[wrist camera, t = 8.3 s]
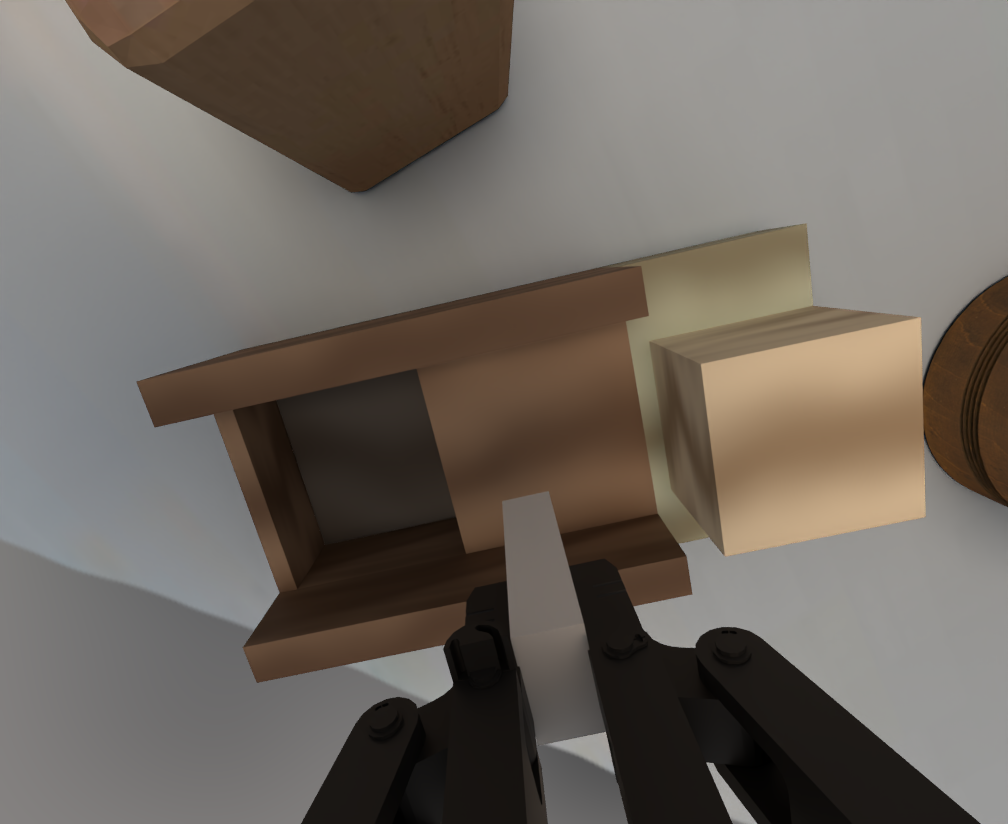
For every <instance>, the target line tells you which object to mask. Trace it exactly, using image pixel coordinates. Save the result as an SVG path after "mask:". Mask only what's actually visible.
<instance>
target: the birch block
mask: <svg viewBox="0 0 1008 824" xmlns="http://www.w3.org/2000/svg"><path fill="white" fill-rule="evenodd" d="M649 344H650V351H651V358H652V364H653V371H654V378H655V385H656V391H657V398H658V405H659V412H660V418H661V425H662V432H663V439H664V445H665V452H666V459H667V466H668V472H669V479H670V486H671V490H672V491H673V493H674V494H675V495H676V496H677V498H678V499H679V500H680V501H681V503H682V504H683V505H684V506H685V508H686V509H687V510H688V511H689V513H690V514H691V515H692V516H693V517H694V519H695V520H696V521H697V522H698V524H699V525H700V526H701V527H702V529H703V530H704V531H705V532H706V534H707V535H708V536H709V537H710V539H711V540H712V541H713V542H714V544H715V545H716V546H717V547H718V549H719V550H720V551H721V552H722V554H723V555H724V556H725V557H726V556H731V555H736V554H741V553H746V552H751V551H756V550H761V549H766V548H771V547H776V546H781V545H787V544H792V543H797V542H802V541H807V540H812V539H817V538H822V537H827V536H832V535H837V534H842V533H847V532H852V531H857V530H862V529H867V528H873V527H878V526H883V525H888V524H893V523H898V522H903V521H908V520H913V519H918V518H923V517H926V516H925V473H924V429H923V386H922V343H921V317H912V316H903V315H893V314H884V313H874V312H865V311H856V310H846V309H837V308H827V307H818V306H809V307H805V308H800V309H795V310H791V311H786V312H781V313H777V314H772V315H767V316H763V317H758V318H753V319H749V320H744V321H739V322H735V323H730V324H725V325H721V326H716V327H711V328H707V329H702V330H697V331H693V332H688V333H683V334H679V335H674V336H669V337H665V338H660V339H655V340H651V341H649Z"/></svg>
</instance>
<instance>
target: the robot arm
mask: <svg viewBox="0 0 1008 824" xmlns="http://www.w3.org/2000/svg"><path fill="white" fill-rule="evenodd" d="M502 506H503V523H504V540H505V557H506V573H507V581H503V582H498V583H494V584H489V585H484V586H480V587H475V588H474V590H473V591H472V593H471V594H470V596H469V598H468V599H467V601H466V617H465V626H463V627H461V628H460V629H458V630H456V631H455V632H454V633H453V634H452V635H451V636H450V637H449V638H448V639H447V641H446V643H445V646H444V649H443V650H444V653H445V656H446V660H447V663H448V666H449V670H450V673H451V676H452V680H453V687H452V688H451V689H450V690H449V691H448V692H446V693H445V694H444V695H443V696H441V697H439V698H438V699H436V700H434V701H432V702H430V703H428V704H426V705H424V706H422V707H420V708H417V706H416V704H415V703H414V702H412V701H411V700H410V699H407V698H401V697H396V698H390V699H386V700H384V701H382V702H379V703H377V704H375V705H373V706H372V707H371V708H370V709H368V710H367V711H366V712H365V713H363V715H362V716H361V717H360V719H359V720H358V721H357V723H356V724H355V726H354V728H353V729H352V731H351V733H350V735H349V737H348V739H347V740H346V742H345V744H344V746H343V748H342V750H341V752H340V753H339V755H338V757H337V759H336V761H335V762H334V764H333V766H332V768H331V770H330V772H329V774H328V775H327V777H326V779H325V781H324V783H323V785H322V786H321V788H320V790H319V792H318V794H317V796H316V797H315V799H314V801H313V803H312V805H311V807H310V808H309V810H308V812H307V814H306V816H305V818H304V819H303V821H302V823H301V824H548V822H547V812H546V803H545V795H544V785H543V777H542V768H541V764H540V760H539V756H538V752H537V748H536V740H537V744H538V745H543V744H548V743H553V742H558V741H563V740H568V739H572V738H577V737H582V736H587V735H592V734H597V733H602V732H606V734H607V738H608V743H609V748H610V752H611V757H612V762H613V766H614V771H615V775H616V780H617V783H618V785H619V788H620V793H621V796H622V801H623V805H624V809H625V813H626V817H627V821H628V824H732V821H731V819H730V817H729V814H728V812H727V810H726V807H725V805H724V803H723V801H722V798H721V796H720V794H719V791H718V789H717V787H716V784H715V782H714V780H713V777H712V775H711V773H710V771H709V768H708V766H707V764H706V762H709V763H714V765H715V767H716V769H717V771H718V772H719V774H720V775H721V776H722V778H723V779H724V780H725V782H726V783H727V784H728V785H729V787H730V788H731V789H732V791H733V792H734V793H735V795H736V796H737V797H738V799H739V800H740V801H741V803H742V804H743V805H744V806H745V808H746V809H747V810H748V812H749V813H750V814H751V816H752V817H753V818H754V820H755V821H756V822H757V824H980V823H979V822H978V821H977V820H976V819H975V818H973V817H972V816H971V815H970V814H969V813H967V812H966V811H965V810H964V809H963V808H962V807H960V806H959V805H958V804H957V803H956V802H954V801H953V800H952V799H951V798H950V797H949V796H947V795H946V794H945V793H944V792H943V791H941V790H940V789H939V788H938V787H937V786H935V785H934V784H933V783H932V782H931V781H930V780H928V779H927V778H926V777H925V776H924V775H922V774H921V773H920V772H919V771H918V770H917V769H915V768H914V767H913V766H912V765H911V764H909V763H908V762H907V761H906V760H905V759H904V758H902V757H901V756H900V755H899V754H898V753H896V752H895V751H894V750H893V749H892V748H891V747H889V746H888V745H887V744H886V743H885V742H883V741H882V740H881V739H880V738H879V737H878V736H876V735H875V734H874V733H873V732H872V731H870V730H869V729H868V728H867V727H866V726H865V725H863V724H862V723H861V722H860V721H859V720H857V719H856V718H855V717H854V716H853V715H852V714H850V713H849V712H848V711H847V710H846V709H844V708H843V707H842V706H841V705H840V704H839V703H837V702H836V701H835V700H834V699H833V698H831V697H830V696H829V695H828V694H827V693H826V692H824V691H823V690H822V689H821V688H820V687H818V686H817V685H816V684H815V683H814V682H813V681H811V680H810V679H809V678H808V677H807V676H805V675H804V674H803V673H802V672H801V671H800V670H798V669H797V668H796V667H795V666H794V665H792V664H791V663H790V662H789V661H788V660H787V659H785V658H784V657H783V656H782V655H781V654H779V653H778V652H777V651H776V650H775V649H773V648H772V647H771V646H770V645H769V644H768V643H766V642H765V641H764V640H763V639H762V638H760V637H759V636H757V635H755V634H754V633H752V632H750V631H747V630H744V629H740V628H736V627H721V628H717V629H713V630H710V631H708V632H706V633H705V634H703V635H702V636H700V638H699V640H698V641H697V643H696V648H679V647H671V646H667V645H664V644H660V643H658V642H657V641H655V640H653V639H652V638H651V637H650V636H649V635H648V633H647V632H645V631H644V630H643V628H642V626H641V624H640V621H639V619H638V617H637V614H636V612H635V609H634V607H633V605H632V602H631V600H630V598H629V595H628V593H627V592H626V588H625V586H624V584H623V582H622V579H621V577H620V574H619V572H618V569H617V567H615V566H614V565H613V564H611V563H610V562H609V561H607V560H606V559H605V558H604V559H599V560H595V561H590V562H585V563H581V564H576V565H571V566H568V562H567V558H566V554H565V551H564V547H563V543H562V539H561V536H560V532H559V528H558V524H557V521H556V517H555V513H554V509H553V506H552V502H551V498H550V495H549V491H546V492H542V493H537V494H533V495H528V496H524V497H519V498H514V499H510V500H505V501H502ZM535 736H536V737H535Z"/></svg>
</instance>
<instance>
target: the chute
mask: <svg viewBox="0 0 1008 824" xmlns="http://www.w3.org/2000/svg"><path fill="white" fill-rule="evenodd" d="M809 306H813V299H812V287H811V274H810V262H809V249H808V237H807V225H806V224H800V225H794V226H787V227H781V228H775V229H768V230H762V231H756V232H752V233H747V234H743V235H739V236H734V237H730V238H726V239H721V240H717V241H712V242H708V243H704V244H699V245H695V246H691V247H686V248H682V249H678V250H673V251H669V252H665V253H660V254H656V255H652V256H647V257H643V258H639V259H634V260H630V261H626V262H621V263H617V264H613V265H608V266H604V267H599V268H595V269H591V270H586V271H582V272H578V273H573V274H569V275H565V276H560V277H556V278H552V279H547V280H543V281H539V282H534V283H530V284H526V285H521V286H517V287H513V288H508V289H504V290H499V291H495V292H491V293H486V294H482V295H478V296H473V297H469V298H465V299H460V300H456V301H452V302H447V303H443V304H439V305H434V306H430V307H426V308H421V309H417V310H413V311H408V312H404V313H399V314H395V315H391V316H386V317H382V318H378V319H373V320H369V321H365V322H360V323H356V324H352V325H347V326H343V327H339V328H334V329H330V330H326V331H321V332H317V333H313V334H308V335H304V336H299V337H295V338H291V339H286V340H282V341H278V342H273V343H269V344H265V345H260V346H256V347H252V348H247V349H243V350H239V351H236V352H233V353H229V354H226V355H223V356H219V357H216V358H213V359H210V360H206V361H203V362H200V363H196V364H193V365H190V366H187V367H183V368H180V369H177V370H173V371H170V372H167V373H163V374H160V375H157V376H154V377H150V378H147V379H144V380H140V381H137V384H138V387H139V389H140V392H141V394H142V397H143V399H144V402H145V404H146V407H147V409H148V412H149V414H150V417H151V419H152V422H153V424H154V427H159V426H163V425H168V424H172V423H177V422H181V421H185V420H190V419H194V418H199V417H203V416H208V415H212V414H214V416H215V419H216V422H217V425H218V427H219V430H220V433H221V435H222V438H223V441H224V444H225V446H226V449H227V452H228V454H229V457H230V460H231V462H232V465H233V468H234V471H235V473H236V476H237V479H238V481H239V484H240V487H241V490H242V492H243V495H244V498H245V500H246V503H247V506H248V508H249V511H250V514H251V517H252V519H253V522H254V525H255V527H256V530H257V533H258V536H259V538H260V541H261V544H262V546H263V549H264V552H265V554H266V557H267V560H268V563H269V565H270V568H271V571H272V573H273V576H274V579H275V582H276V584H277V587H278V590H279V592H280V593H279V595H278V596H277V598H276V599H275V601H274V602H273V604H272V605H271V607H270V608H269V610H268V611H267V613H266V614H265V616H264V617H263V618H262V620H261V621H260V623H259V624H258V626H257V627H256V629H255V630H254V632H253V634H252V635H251V636H250V638H249V639H248V641H247V642H246V644H245V645H244V647H243V649H244V652H245V654H246V657H247V659H248V662H249V664H250V667H251V669H252V672H253V674H254V677H255V679H256V682H257V683H258V682H263V681H268V680H273V679H278V678H283V677H288V676H293V675H298V674H303V673H307V672H312V671H317V670H322V669H327V668H332V667H337V666H342V665H347V664H352V663H357V662H362V661H367V660H371V659H376V658H381V657H386V656H391V655H396V654H401V653H406V652H411V651H416V650H421V649H426V648H430V647H435V646H440V645H445V643H446V641H447V639H448V638H449V637H450V636H451V635H452V634H453V633H454V632H455V631H456V630H458V629H460V628H461V627H463V626H465V617H466V601H467V599H468V598H469V596H470V594H471V593H472V591H473V590H474V588H475V587H480V586H484V585H489V584H494V583H498V582H503V581H507V573H506V557H505V540H504V523H503V506H502V501H505V500H510V499H514V498H519V497H524V496H528V495H533V494H537V493H542V492H546V491H549V495H550V498H551V502H552V506H553V509H554V513H555V517H556V521H557V524H558V528H559V532H560V536H561V539H562V543H563V547H564V551H565V554H566V558H567V562H568V566H571V565H576V564H581V563H585V562H590V561H595V560H599V559H604V558H605V559H606V560H607V561H609V562H610V563H611V564H613V565H614V566H615V567H617V569H618V572H619V574H620V577H621V579H622V582H623V584H624V586H625V588H626V592H627V593H628V595H629V598H630V600H631V602H632V605H633V606H637V605H642V604H647V603H652V602H657V601H661V600H666V599H671V598H676V597H681V596H686V595H691V594H692V589H691V582H690V576H689V570H688V563H687V557H686V555H685V553H684V552H683V550H682V549H681V547H680V546H679V543H684V542H689V541H694V540H698V539H703V538H708V537H709V536H708V535H707V534H706V532H705V531H704V530H703V529H702V527H701V526H700V525H699V524H698V522H697V521H696V520H695V519H694V517H693V516H692V515H691V514H690V513H689V511H688V510H687V509H686V508H685V506H684V505H683V504H682V503H681V501H680V500H679V499H678V498H677V496H676V495H675V494H674V493H673V491H672V490H671V486H670V479H669V472H668V466H667V459H666V452H665V445H664V439H663V432H662V425H661V418H660V412H659V405H658V398H657V391H656V385H655V378H654V371H653V364H652V358H651V351H650V344H649V341H651V340H655V339H660V338H665V337H669V336H674V335H679V334H683V333H688V332H693V331H697V330H702V329H707V328H711V327H716V326H721V325H725V324H730V323H735V322H739V321H744V320H749V319H753V318H758V317H763V316H767V315H772V314H777V313H781V312H786V311H791V310H795V309H800V308H805V307H809ZM277 403H278V404H277ZM278 406H279V407H278ZM279 409H280V410H279ZM280 412H281V413H280ZM281 415H282V416H281ZM282 418H283V419H282ZM283 421H284V422H283ZM284 424H285V425H284ZM285 427H286V428H285ZM286 430H287V431H286ZM287 433H288V434H287ZM288 436H289V437H288ZM289 439H290V440H289ZM290 442H291V443H290ZM291 445H292V446H291ZM292 448H293V449H292ZM293 451H294V452H293ZM294 454H295V455H294ZM295 457H296V458H295ZM296 460H297V461H296ZM297 463H298V464H297ZM298 466H299V467H298ZM299 469H300V470H299ZM300 472H301V473H300ZM301 475H302V476H301ZM303 480H304V481H303ZM304 483H305V484H304ZM305 486H306V487H305ZM306 489H307V490H306ZM307 492H308V493H307ZM308 495H309V496H308ZM309 498H310V499H309ZM310 501H311V502H310ZM311 504H312V505H311ZM312 507H313V508H312ZM313 510H314V511H313ZM314 513H315V514H314ZM315 516H316V517H315ZM453 517H455V518H453ZM448 518H450V519H448ZM316 519H317V520H316ZM444 519H445V520H444ZM439 520H441V521H439ZM434 521H436V522H434ZM317 522H318V523H317ZM429 522H431V523H429ZM425 523H426V524H425ZM420 524H422V525H420ZM318 525H319V526H318ZM415 525H417V526H415ZM411 526H412V527H411ZM406 527H408V528H406ZM319 528H320V529H319ZM401 528H403V529H401ZM397 529H398V530H397ZM392 530H394V531H392ZM320 531H321V532H320ZM387 531H389V532H387ZM383 532H384V533H383ZM378 533H380V534H378ZM321 534H322V535H321ZM373 534H375V535H373ZM369 535H370V536H369ZM364 536H365V537H364ZM322 537H323V538H322ZM359 537H361V538H359ZM354 538H356V539H354ZM350 539H351V540H350ZM323 540H324V541H323ZM345 540H347V541H345ZM340 541H342V542H340ZM336 542H337V543H336ZM324 543H325V544H324ZM331 543H333V544H331ZM326 544H328V545H326Z"/></svg>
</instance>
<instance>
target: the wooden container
mask: <svg viewBox="0 0 1008 824" xmlns="http://www.w3.org/2000/svg"><path fill="white" fill-rule="evenodd" d="M923 426H924V431H925V435H926V439H927V442H928V445H929V448H930V450H931V452H932V454H933V455H934V457H935V459H936V460H937V462H938V463H939V465H940V466H941V467H942V468H943V469H944V470H945V471H946V472H947V473H948V474H949V475H950V476H951V477H952V478H953V479H954V480H956V481H957V482H958V483H960V484H961V485H963V486H965V487H967V488H968V489H970V490H972V491H974V492H976V493H979V494H981V495H983V496H985V497H987V498H989V499H991V500H994V501H996V502H998V503H1000V504H1002V505H1004V506H1007V507H1008V277H1006V278H1004V279H1003V280H1002V281H1000V282H998V283H996V284H995V285H993V286H992V287H990V288H989V289H987V290H986V291H985V292H984V293H983V294H981V295H980V296H979V297H978V298H976V299H975V300H974V301H973V302H972V303H971V304H970V305H969V306H968V307H967V308H966V309H965V311H964V312H963V313H962V314H961V315H960V316H959V317H958V319H957V320H956V321H955V322H954V324H953V325H952V326H951V327H950V329H949V330H948V332H947V333H946V335H945V336H944V338H943V340H942V342H941V343H940V345H939V347H938V349H937V351H936V353H935V355H934V357H933V360H932V362H931V365H930V368H929V371H928V374H927V377H926V380H925V384H924V389H923Z"/></svg>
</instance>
